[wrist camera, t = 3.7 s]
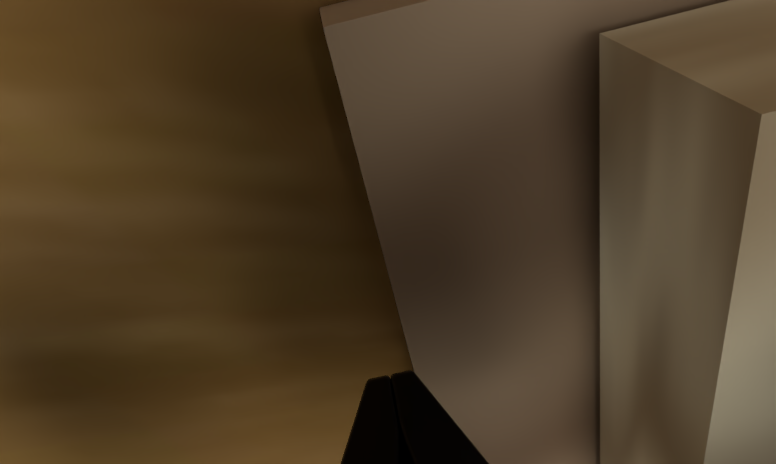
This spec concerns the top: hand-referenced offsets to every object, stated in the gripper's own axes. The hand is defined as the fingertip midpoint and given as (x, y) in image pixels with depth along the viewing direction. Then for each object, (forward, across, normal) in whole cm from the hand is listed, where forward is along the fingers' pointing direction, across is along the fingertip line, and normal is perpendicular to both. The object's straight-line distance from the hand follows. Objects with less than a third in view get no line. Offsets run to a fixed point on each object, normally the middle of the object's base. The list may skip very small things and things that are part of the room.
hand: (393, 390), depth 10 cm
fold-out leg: (+1, -6, +3) cm, 7 cm away
